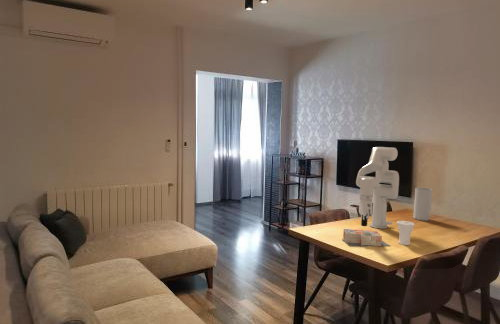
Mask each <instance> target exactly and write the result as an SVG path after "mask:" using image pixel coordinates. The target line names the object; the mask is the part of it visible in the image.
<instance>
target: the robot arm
mask: <svg viewBox="0 0 500 324" xmlns="http://www.w3.org/2000/svg"><path fill="white" fill-rule="evenodd" d="M398 154H399V153H398V150H397V148H396V147H387V146H386V147H385V146H375V147H372V149H371V154H370V157H369V160H368V163H367V164H366V165H364V166H362V167H361V168H360V169H359V171H358V172H357V176H356V180H355V184H356V186H357V187H359V188H360V189H359V203H358V204H359V205H358V212H359V215H360V218H361V222H360V225H361V226H362V227H367V226H368V220H369V219H370V217H372V218H371V222H370V223H369V227H372V228H375V229H381V230H382V229H383V230H384V229H387V228H388V225H392V224H393V222H392V221H387V207H388V203H387V200H386V199H392V200H395V199H397V198H398V196H399V186H400V175H399V172H398V171H397V170H389V167H390V166H389V161H390V162H392V161H395V160H396V159H397V157H398ZM371 173H375V176H368V175H369V174H371ZM367 174H368V175H367ZM382 183H383V184H382Z"/></svg>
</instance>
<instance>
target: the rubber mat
mask: <svg viewBox="0 0 500 324" xmlns="http://www.w3.org/2000/svg"><path fill="white" fill-rule="evenodd" d="M342 242H344V243H345V241H344V239H342ZM345 244H346V245H348V246H349V247H373V246H372V245H361V244H360V243H345ZM380 247H391V245H390V244H388V243H386V242H385V241H384V240H382V241H381V246H380Z"/></svg>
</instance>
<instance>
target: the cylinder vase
mask: <svg viewBox="0 0 500 324" xmlns="http://www.w3.org/2000/svg"><path fill="white" fill-rule="evenodd" d="M432 200H433V189H432V188H428V187H416V188H415V191H414V204H413V214H412V215H413V219H414V220H417V221H424V222H425V221H426V222H427V221H428V222H429V221H430V220H431V214H432V213H431V210H432Z"/></svg>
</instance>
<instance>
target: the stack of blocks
mask: <svg viewBox="0 0 500 324" xmlns="http://www.w3.org/2000/svg"><path fill="white" fill-rule="evenodd" d="M382 237H383V236H382V235H381V234H380V232H379V231H377V230H367V229H350V228H348V229H347V228H344V229H343V235H342V238H343V239H342V240H344V241H345V242H344V241H343V242H344V243H345V244H346V243H360V244H361V245H372V246H371V247H382V246H381V241H383V240H382Z"/></svg>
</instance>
